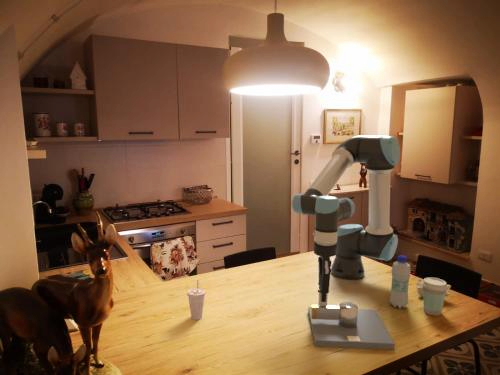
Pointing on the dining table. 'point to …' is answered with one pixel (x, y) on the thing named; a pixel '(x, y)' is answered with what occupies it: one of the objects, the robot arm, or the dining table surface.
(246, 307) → the dining table surface
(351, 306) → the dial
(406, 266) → the bottle
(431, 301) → the coffee cup
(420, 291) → the cat figurine
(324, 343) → the grey base plate
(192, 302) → the smoothie
